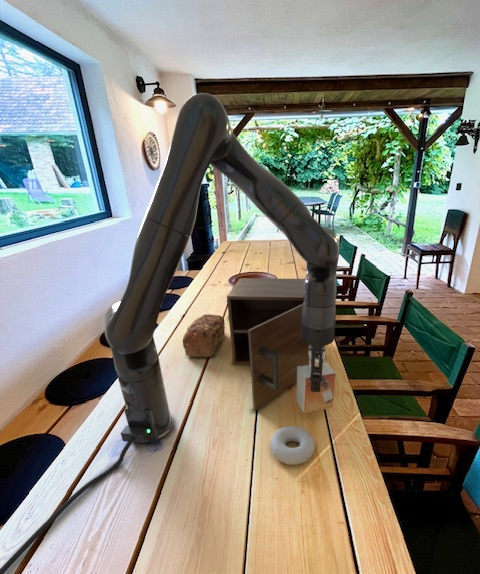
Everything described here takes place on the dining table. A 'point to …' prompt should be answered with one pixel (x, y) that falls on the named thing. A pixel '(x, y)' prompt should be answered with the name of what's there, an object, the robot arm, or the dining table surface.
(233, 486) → the dining table surface
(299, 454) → the donut
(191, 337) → the bread
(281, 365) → the cupboard door
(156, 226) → the robot arm
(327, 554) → the dining table surface
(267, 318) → the cupboard
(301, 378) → the small box
